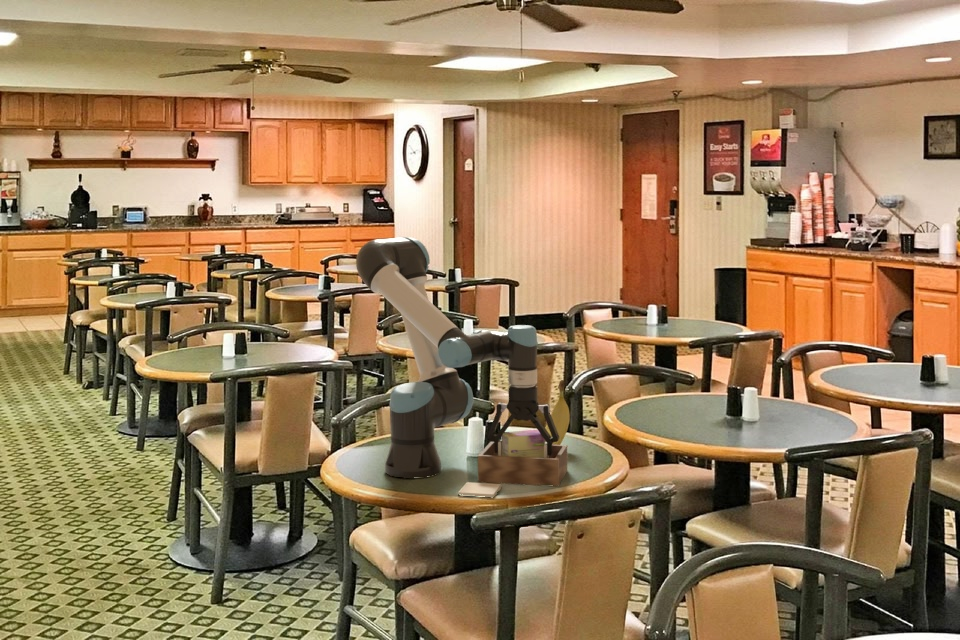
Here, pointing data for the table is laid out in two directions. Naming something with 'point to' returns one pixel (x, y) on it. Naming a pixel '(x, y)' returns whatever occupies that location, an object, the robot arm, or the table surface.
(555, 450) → the crate
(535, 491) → the table surface
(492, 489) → the tile
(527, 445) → the box
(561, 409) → the banana
